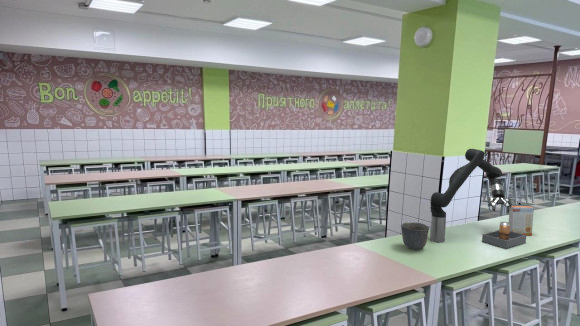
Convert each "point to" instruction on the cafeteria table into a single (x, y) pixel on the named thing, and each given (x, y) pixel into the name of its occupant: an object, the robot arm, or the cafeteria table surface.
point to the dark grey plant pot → (414, 235)
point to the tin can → (504, 230)
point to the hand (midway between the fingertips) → (501, 211)
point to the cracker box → (521, 219)
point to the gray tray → (513, 240)
